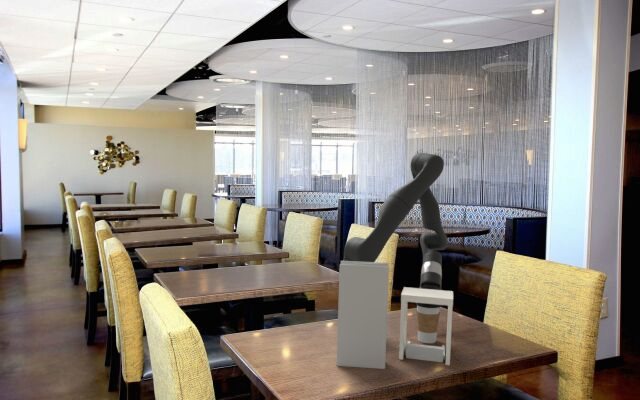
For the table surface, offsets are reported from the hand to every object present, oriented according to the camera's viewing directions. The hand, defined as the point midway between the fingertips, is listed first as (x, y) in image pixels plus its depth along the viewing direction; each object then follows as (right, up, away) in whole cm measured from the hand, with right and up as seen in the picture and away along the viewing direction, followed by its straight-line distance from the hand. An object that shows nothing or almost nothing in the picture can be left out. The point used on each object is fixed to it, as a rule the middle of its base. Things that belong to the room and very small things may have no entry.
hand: (428, 317), depth 181 cm
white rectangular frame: (-5, -7, -21) cm, 22 cm away
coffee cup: (-2, -6, -7) cm, 10 cm away
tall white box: (-26, -7, -29) cm, 40 cm away
